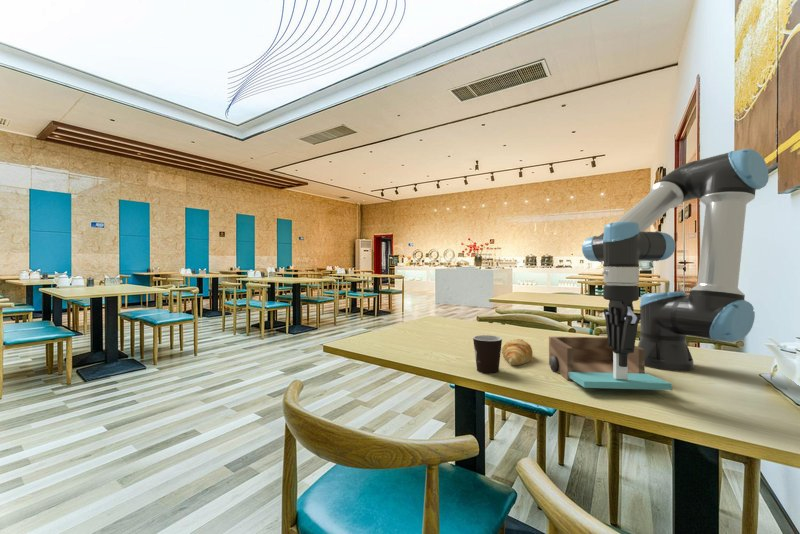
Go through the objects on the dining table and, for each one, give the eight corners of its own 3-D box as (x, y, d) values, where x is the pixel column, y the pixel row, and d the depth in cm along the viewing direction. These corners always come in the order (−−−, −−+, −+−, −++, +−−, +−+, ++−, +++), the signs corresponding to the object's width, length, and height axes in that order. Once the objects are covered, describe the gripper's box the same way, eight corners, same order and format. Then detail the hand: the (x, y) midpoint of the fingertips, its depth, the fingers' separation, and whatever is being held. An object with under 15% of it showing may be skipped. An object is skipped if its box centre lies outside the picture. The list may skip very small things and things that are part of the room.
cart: (619, 365, 110) (618, 337, 110) (649, 382, 94) (649, 349, 94) (544, 364, 112) (544, 336, 112) (562, 380, 97) (562, 348, 97)
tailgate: (645, 373, 94) (671, 383, 83) (645, 378, 94) (672, 390, 83) (568, 371, 96) (584, 381, 85) (568, 376, 96) (584, 387, 85)
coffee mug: (498, 376, 100) (498, 342, 100) (469, 372, 105) (469, 339, 105) (507, 366, 110) (507, 335, 110) (480, 362, 115) (480, 332, 115)
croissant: (522, 379, 108) (535, 358, 106) (493, 361, 112) (504, 340, 110) (528, 361, 127) (539, 342, 126) (503, 346, 131) (513, 328, 129)
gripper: (593, 282, 94) (593, 370, 94) (618, 285, 81) (617, 386, 81) (622, 282, 93) (622, 370, 93) (652, 286, 80) (652, 388, 80)
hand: (620, 378), depth 87 cm, fingers closed
